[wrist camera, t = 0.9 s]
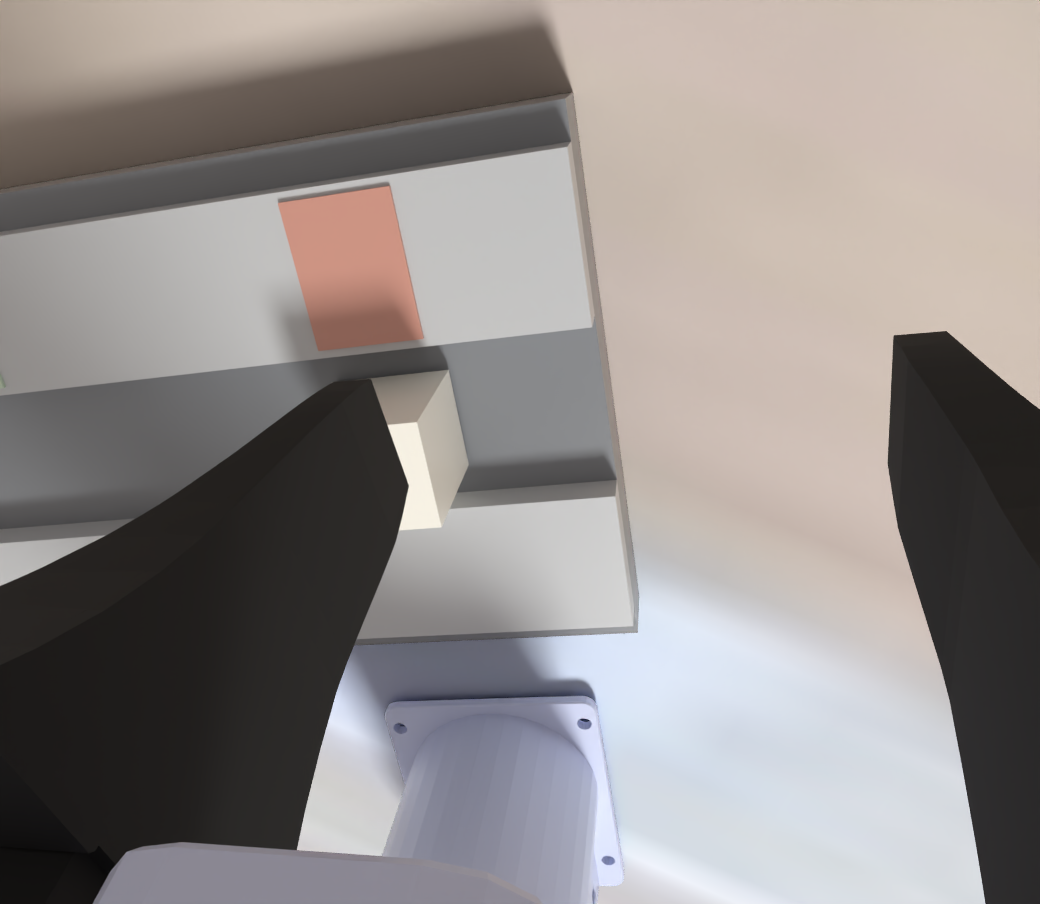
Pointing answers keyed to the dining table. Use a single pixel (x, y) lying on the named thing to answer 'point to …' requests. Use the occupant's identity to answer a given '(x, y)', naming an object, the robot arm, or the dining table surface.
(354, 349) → the breaker panel
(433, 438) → the switch
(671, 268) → the dining table surface
